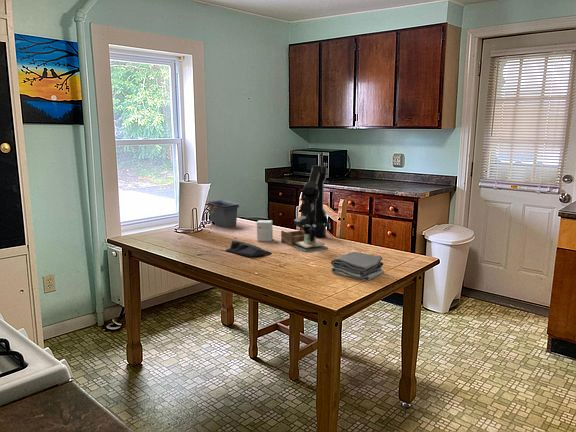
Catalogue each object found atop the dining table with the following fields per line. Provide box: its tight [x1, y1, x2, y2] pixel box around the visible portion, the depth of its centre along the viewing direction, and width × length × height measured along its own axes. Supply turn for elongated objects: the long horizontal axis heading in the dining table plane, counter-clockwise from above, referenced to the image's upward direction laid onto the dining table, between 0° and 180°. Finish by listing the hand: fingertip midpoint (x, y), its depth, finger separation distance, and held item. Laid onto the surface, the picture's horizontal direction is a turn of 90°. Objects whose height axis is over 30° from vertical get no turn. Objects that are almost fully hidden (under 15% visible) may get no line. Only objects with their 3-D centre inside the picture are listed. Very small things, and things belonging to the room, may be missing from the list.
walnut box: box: [280, 227, 305, 247], centre depth 246 cm, size 13×11×6 cm
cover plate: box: [295, 233, 325, 248], centre depth 235 cm, size 11×10×5 cm
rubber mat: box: [291, 245, 329, 253], centre depth 236 cm, size 14×12×1 cm
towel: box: [330, 251, 385, 282], centre depth 194 cm, size 15×18×8 cm
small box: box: [256, 219, 274, 242], centre depth 251 cm, size 8×6×10 cm
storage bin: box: [206, 199, 240, 228], centre depth 289 cm, size 21×16×14 cm
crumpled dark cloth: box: [225, 240, 272, 258], centre depth 228 cm, size 15×22×5 cm
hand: (309, 240), depth 235 cm, fingers closed on cover plate, 3 cm apart
